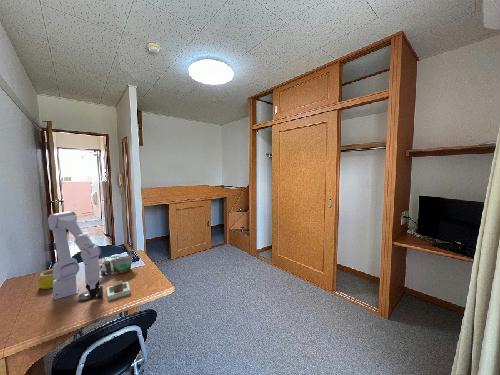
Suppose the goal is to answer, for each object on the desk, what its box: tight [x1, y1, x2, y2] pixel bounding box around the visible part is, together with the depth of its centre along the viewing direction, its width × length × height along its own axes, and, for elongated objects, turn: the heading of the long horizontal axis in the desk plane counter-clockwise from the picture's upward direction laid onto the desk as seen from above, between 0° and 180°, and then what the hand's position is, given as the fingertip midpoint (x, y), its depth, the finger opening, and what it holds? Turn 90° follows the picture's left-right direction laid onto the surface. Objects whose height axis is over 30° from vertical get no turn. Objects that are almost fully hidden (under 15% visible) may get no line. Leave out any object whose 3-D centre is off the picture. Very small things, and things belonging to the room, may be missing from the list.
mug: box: [38, 268, 56, 290], centre depth 123 cm, size 13×11×12 cm
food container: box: [111, 253, 133, 276], centre depth 137 cm, size 12×6×10 cm, turn 143°
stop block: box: [112, 279, 124, 293], centre depth 115 cm, size 4×4×5 cm
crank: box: [77, 285, 104, 302], centre depth 111 cm, size 12×6×5 cm, turn 92°
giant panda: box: [99, 257, 117, 277], centre depth 135 cm, size 15×6×10 cm, turn 174°
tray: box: [106, 281, 131, 301], centre depth 115 cm, size 10×10×2 cm
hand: (93, 296), depth 109 cm, fingers closed
